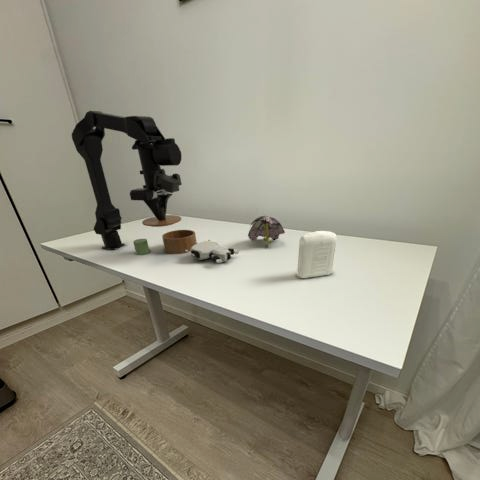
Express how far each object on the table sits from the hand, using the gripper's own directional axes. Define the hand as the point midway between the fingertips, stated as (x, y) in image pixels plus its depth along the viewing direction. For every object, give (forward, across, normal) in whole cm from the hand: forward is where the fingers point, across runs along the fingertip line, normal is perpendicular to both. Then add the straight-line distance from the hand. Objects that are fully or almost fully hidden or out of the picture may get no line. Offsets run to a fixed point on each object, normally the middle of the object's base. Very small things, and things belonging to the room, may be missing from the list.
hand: (161, 218), depth 94 cm
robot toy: (+13, 0, -18) cm, 23 cm away
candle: (+13, 0, +12) cm, 17 cm away
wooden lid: (+1, 0, 0) cm, 1 cm away
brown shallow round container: (+13, +7, -1) cm, 15 cm away
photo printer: (+13, -4, -53) cm, 55 cm away
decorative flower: (+13, +20, -31) cm, 39 cm away
